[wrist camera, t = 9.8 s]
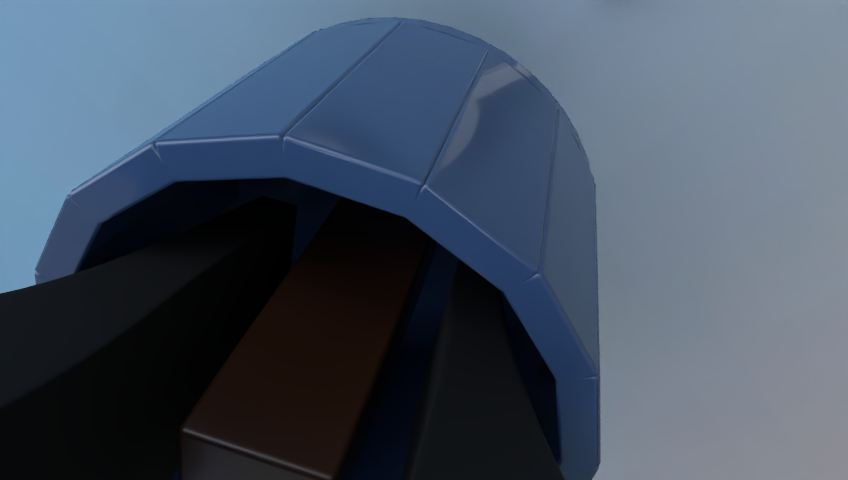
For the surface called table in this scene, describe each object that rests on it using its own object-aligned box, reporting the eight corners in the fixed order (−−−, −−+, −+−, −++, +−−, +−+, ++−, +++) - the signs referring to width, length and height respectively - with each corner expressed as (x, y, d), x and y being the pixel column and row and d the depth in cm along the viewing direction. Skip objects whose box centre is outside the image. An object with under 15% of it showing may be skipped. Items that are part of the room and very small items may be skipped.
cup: (281, 346, 16) (156, 550, 11) (179, 37, 12) (-71, 154, 7) (596, 358, 14) (601, 609, 9) (593, -7, 10) (599, 115, 5)
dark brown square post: (346, 244, 13) (176, 524, 8) (359, 168, 12) (174, 428, 7) (429, 269, 13) (317, 572, 8) (449, 195, 12) (336, 482, 7)
